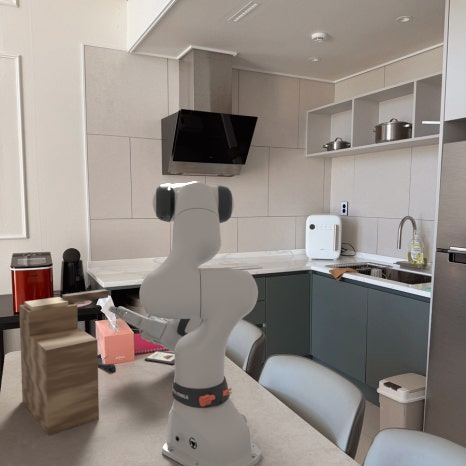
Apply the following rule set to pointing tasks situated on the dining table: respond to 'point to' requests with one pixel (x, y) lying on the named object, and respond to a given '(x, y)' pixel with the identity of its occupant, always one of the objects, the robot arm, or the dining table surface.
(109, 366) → the dark grey t-shaped piece
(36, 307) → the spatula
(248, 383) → the dining table surface
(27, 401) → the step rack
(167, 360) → the chocolate bar
